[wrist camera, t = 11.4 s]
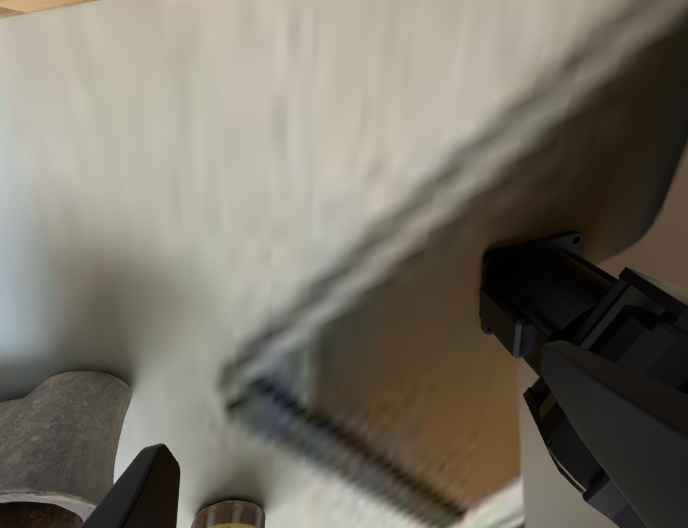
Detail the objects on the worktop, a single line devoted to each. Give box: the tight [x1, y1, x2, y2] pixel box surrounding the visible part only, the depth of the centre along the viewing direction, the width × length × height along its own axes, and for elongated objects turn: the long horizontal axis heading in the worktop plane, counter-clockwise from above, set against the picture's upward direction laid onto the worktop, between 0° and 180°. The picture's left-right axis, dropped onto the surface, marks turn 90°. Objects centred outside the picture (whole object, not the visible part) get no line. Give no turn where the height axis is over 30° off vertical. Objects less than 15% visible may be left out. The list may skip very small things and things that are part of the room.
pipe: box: [0, 371, 132, 528], centre depth 18 cm, size 6×13×8 cm, turn 95°
